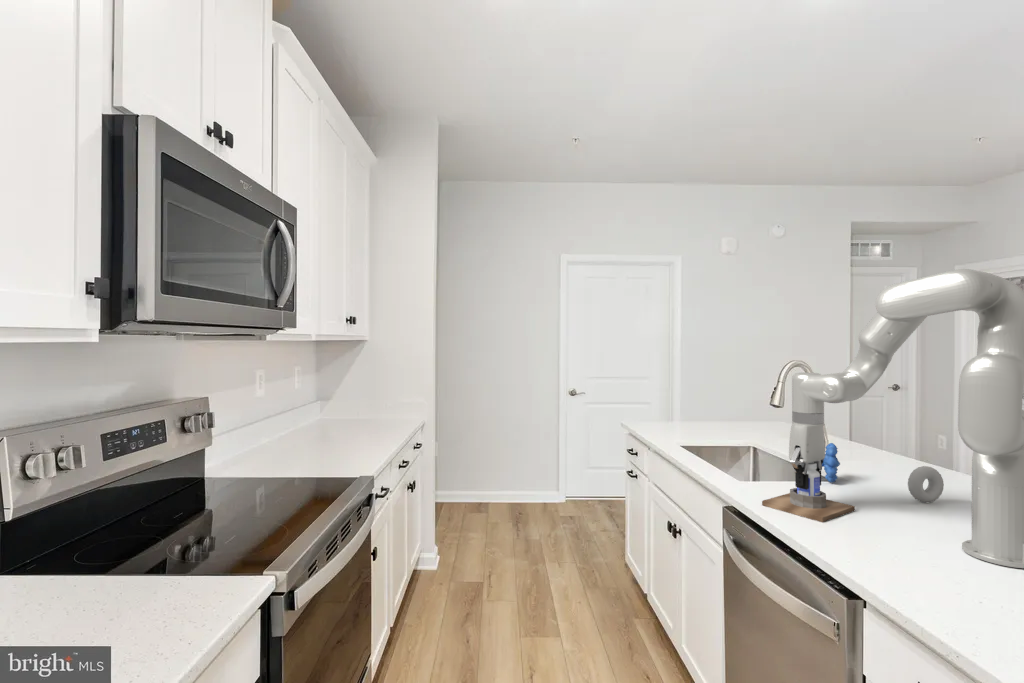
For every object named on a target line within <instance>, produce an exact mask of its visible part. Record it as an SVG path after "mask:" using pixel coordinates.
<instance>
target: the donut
mask: <svg viewBox="0 0 1024 683" xmlns="http://www.w3.org/2000/svg"><path fill="white" fill-rule="evenodd" d="M907 479H908V480H907V488H908V491H909V493H910V495H911V496H912V497H913V498H914V499H915V500H917V501H919V502H921V503H926V502H929V503H933V502H935V501H937V500H938V499H939V498H940V497H941V495H942V494H943V491H944V479H943V476H942V474H941V473H940V472H939V471H938V470H937V469H935V468H934V467H932V466H926V465H923V466H919V467H916V468H915V469H913V471H912V472H910V474H909V476H908V478H907ZM925 480H927V482H928V483H927V484H928V485H927V487H926V489H924V482H925Z"/></svg>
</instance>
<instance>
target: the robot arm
mask: <svg viewBox="0 0 1024 683" xmlns="http://www.w3.org/2000/svg"><path fill="white" fill-rule="evenodd" d="M875 308H876V311H877V312H876V313H875V314H874V316H873V317H872V318H871V319H870V321H869V322H868V323H867V324H866V325H865V326H864V327H863V329H862V330H861V331H860V332H859V334H858V336H857V337H858V343H859V349H858V352H857V353H856V354H855V355H856V356H855V357H854V359H852V361H851V363H849V365H848V366H846V368H845V369H844V371H843V372H835V373H826V374H821V373H818V372H796V373H794V374H793V375H792V377H791V420H792V421H791V427H790V432H789V439H788V440H789V443H788V444H789V445H788V459H789V461H790V464H791V465H792V467H793V472H794V474H795V479H794V480H795V488H802V489H806V490H807V489H809V474H807V469H808V463H811V462H815V463H816V464H817V469H816V471H818V472H819V474H820V487H821V486H822V470H823V467H822V464H823V460H824V458H825V454H826V452H825V451H826V448H825V447H826V438H825V428H824V426H825V403H829V404H840V403H846V402H851V401H856V400H859V399H860V398H862V397H863V396H864V395H866V393H868V392H869V390H870V389H871V388H872V387H873V386H874V385H875V384H876V382H878V380H879V379H880V378H881V377H882V375H883V374H884V373H885V371H886V370H887V368H888V366H889V365H890V363H891V361H892V358H893V356H894V355H895V353H896V352H897V351H898V350H899V349H900V348H901V347H902V346H903V345H904V344H905V342H906V341H907V340H908V339H909V337H911V335H912V334H913V333H914V332H915V331H916V330H917V329H918V328H919V326H921V324H922V323H923V322H924V321H925V320H926V319H927V317H929V316H930V317H931V316H936V315H940V314H944V313H945V314H947V313H953V312H958V311H966V312H967V311H968V312H969V311H971V312H974V313H975V314H977V315H978V319H979V322H978V328H977V337H976V338H977V347H976V349H977V350H976V356H974V357H972V358H971V359H969V360H968V361H967V362H965V364H964V366H963V367H962V369H961V371H960V375H959V381H958V400H957V401H958V402H957V403H958V407H957V428H958V430H957V431H958V435H959V437H960V439H961V441H962V442H963V443H964V445H965V446H966V447H967V448H969V450H972V460H971V539H967V540H964V541H963V542H962V543H961V549H962V551H964V552H965V553H966V554H968V555H969V556H971V557H973V558H976V559H978V560H982V561H984V562H987V563H990V564H995V565H999V566H1004V567H1009V568H1015V569H1024V409H1023V398H1024V397H1023V395H1024V289H1022V287H1020V286H1019V285H1018V284H1016V283H1014V282H1012V281H1011V280H1008V279H1006V278H1004V277H1001V276H999V275H996V274H993V273H990V272H989V273H988V272H985V271H981V270H974V269H969V268H968V269H967V268H958V269H951V270H948V271H943V272H938V273H935V274H930V275H927V276H923V277H919V278H918V277H917V278H913V279H909V280H905V281H901V282H896V283H894V284H890V285H888V286H886V287H885V288H883V289H882V290H880V292H879V293H878V295H877V297H876V299H875ZM801 460H802V461H801ZM803 461H804V462H803ZM800 464H804V466H803V467H802V466H801V465H800Z"/></svg>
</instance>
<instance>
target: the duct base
mask: <svg viewBox="0 0 1024 683" xmlns="http://www.w3.org/2000/svg"><path fill="white" fill-rule="evenodd" d="M761 502H762V503H761V506H763V507H767V508H771V509H775V510H778V511H780V512H786V513H789V514H792V515H796V516H800V517H803V518H805V517H806V519H810V520H812V521H817V522H819V523H820V522H821V523H824V522H828V521H830V519H831V520H833V519H836V518H839V517H842V516H844V515H843V514H845V515H847V514H850V513H853V512H855V511H856V505H850V504H847V503H843V502H839V501H835V500H831V499H827V494H826V492H825V491H824V492H823V491H822V490H820V496H806V495H801V494H797V487H793V488H790V489H789V492H788V493H785V494H782V495H778V496H774V497H771V498H768V499H764V500H761ZM854 510H855V511H854ZM852 511H853V512H852ZM849 512H850V513H849ZM846 513H847V514H846ZM841 515H842V516H841ZM838 516H839V517H838ZM835 517H836V518H835ZM827 520H828V521H827Z"/></svg>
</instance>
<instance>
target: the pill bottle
mask: <svg viewBox="0 0 1024 683" xmlns="http://www.w3.org/2000/svg"><path fill="white" fill-rule="evenodd" d="M802 461H803V460H802ZM803 462H804V461H803ZM800 465H801V466H802V467H803V466H804V464H800ZM816 469H817V464H816V463H815V462H811V463H808V469H807V474H809V489H807V490H806V489H802V488H797V487H796V488H797V494H801V495H806V496H820V491H821V486H820V474H819V472H818V471H816Z"/></svg>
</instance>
